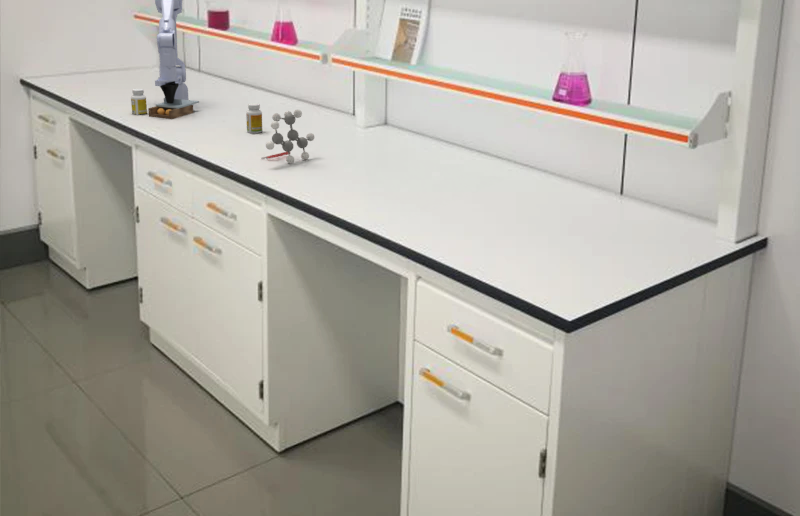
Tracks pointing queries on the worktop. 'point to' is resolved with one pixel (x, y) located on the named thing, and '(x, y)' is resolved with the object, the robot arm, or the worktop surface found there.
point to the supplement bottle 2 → (254, 118)
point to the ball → (161, 111)
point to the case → (170, 112)
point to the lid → (177, 103)
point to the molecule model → (291, 135)
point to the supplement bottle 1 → (138, 102)
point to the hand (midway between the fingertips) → (170, 103)
